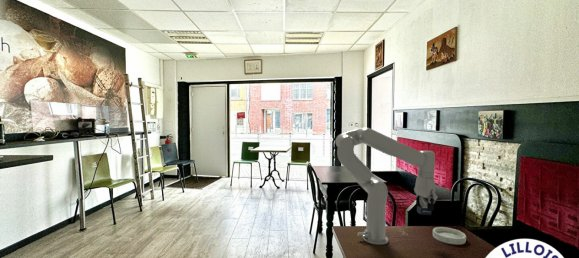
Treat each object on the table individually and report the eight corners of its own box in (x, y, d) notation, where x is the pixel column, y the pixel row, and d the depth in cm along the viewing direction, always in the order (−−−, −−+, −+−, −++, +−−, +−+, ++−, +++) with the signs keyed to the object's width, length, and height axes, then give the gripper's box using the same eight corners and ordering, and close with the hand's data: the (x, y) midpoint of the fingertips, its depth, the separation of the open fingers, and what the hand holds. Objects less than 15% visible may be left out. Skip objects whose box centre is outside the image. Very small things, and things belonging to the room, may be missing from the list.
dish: (447, 245, 138) (447, 239, 138) (426, 233, 153) (426, 228, 153) (472, 243, 141) (473, 237, 141) (450, 231, 156) (450, 226, 156)
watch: (422, 215, 139) (423, 194, 139) (415, 210, 148) (416, 190, 147) (433, 216, 139) (434, 194, 139) (425, 211, 147) (426, 190, 147)
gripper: (409, 171, 150) (407, 202, 151) (431, 178, 133) (429, 213, 134) (421, 171, 152) (419, 202, 153) (444, 178, 135) (443, 213, 136)
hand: (424, 207), depth 143 cm, fingers closed on watch, 8 cm apart
